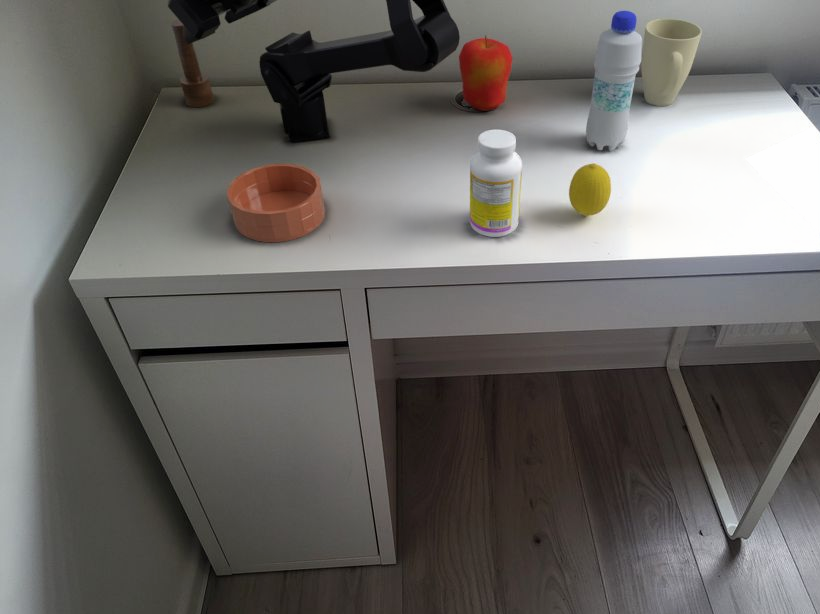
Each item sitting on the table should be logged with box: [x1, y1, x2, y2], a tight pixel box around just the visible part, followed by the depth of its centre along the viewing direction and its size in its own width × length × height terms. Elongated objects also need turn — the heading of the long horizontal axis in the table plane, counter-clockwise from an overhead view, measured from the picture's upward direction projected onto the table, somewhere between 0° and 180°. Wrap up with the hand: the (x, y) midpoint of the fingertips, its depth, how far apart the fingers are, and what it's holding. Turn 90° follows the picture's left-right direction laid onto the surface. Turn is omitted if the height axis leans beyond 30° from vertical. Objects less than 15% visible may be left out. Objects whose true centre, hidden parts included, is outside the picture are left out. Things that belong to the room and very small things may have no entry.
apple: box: [458, 34, 513, 111], centre depth 117 cm, size 9×8×12 cm
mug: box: [640, 18, 703, 107], centre depth 118 cm, size 11×10×12 cm
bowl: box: [226, 163, 326, 243], centre depth 96 cm, size 12×12×4 cm
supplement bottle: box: [469, 129, 523, 238], centre depth 92 cm, size 7×7×13 cm
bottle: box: [585, 10, 643, 152], centre depth 105 cm, size 7×7×20 cm
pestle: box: [170, 19, 215, 108], centre depth 117 cm, size 5×5×13 cm
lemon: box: [568, 163, 612, 217], centre depth 95 cm, size 6×6×8 cm
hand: (207, 30), depth 111 cm, fingers open, 9 cm apart
